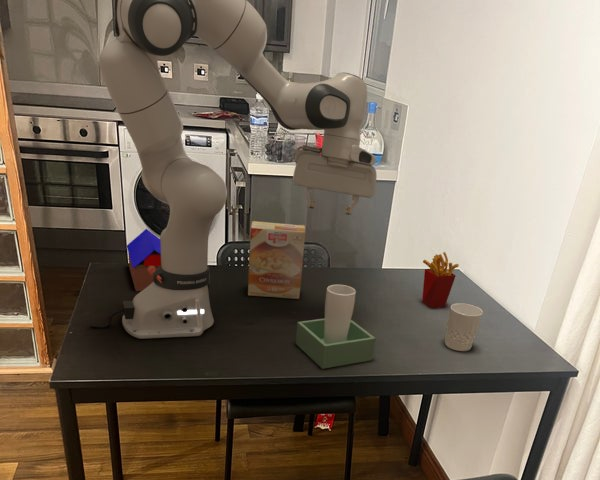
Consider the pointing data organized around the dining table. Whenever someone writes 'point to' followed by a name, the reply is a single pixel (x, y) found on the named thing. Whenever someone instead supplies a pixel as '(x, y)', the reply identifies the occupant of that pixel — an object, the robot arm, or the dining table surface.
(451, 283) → the french fries
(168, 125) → the robot arm
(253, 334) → the dining table surface
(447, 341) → the white cup
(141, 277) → the house
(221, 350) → the dining table surface
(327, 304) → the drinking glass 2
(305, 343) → the tote
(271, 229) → the coffeecake box
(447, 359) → the dining table surface
